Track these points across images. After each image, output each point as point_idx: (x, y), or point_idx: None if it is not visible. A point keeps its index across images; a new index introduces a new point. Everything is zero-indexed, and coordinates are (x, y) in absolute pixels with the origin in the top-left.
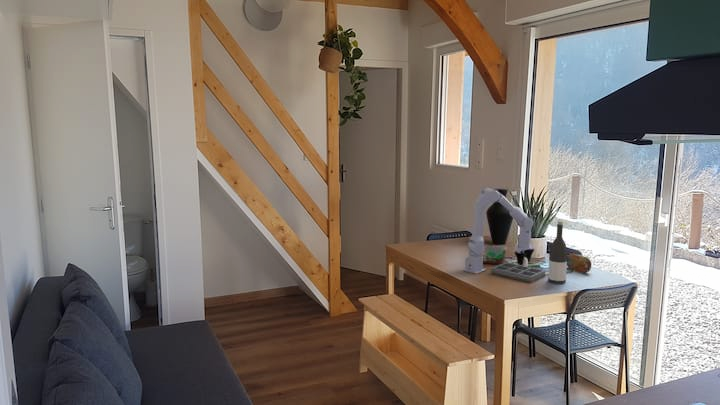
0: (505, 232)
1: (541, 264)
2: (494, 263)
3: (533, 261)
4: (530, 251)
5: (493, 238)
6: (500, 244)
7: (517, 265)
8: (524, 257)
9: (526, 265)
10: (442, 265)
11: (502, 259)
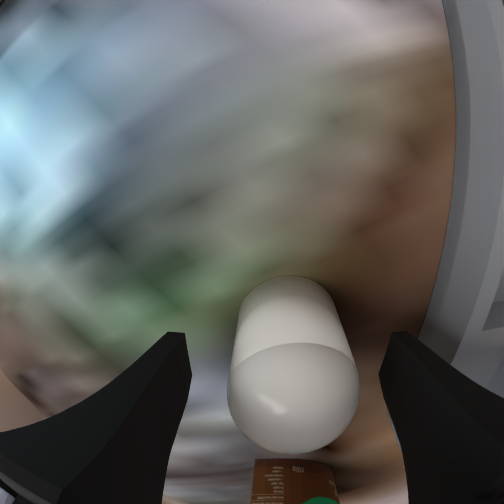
0: (3, 488)
1: (21, 230)
2: (332, 474)
3: (22, 324)
4: (103, 492)
5: None
6: None
7: (482, 342)
8: (315, 434)
9: (315, 303)
10: None
11: (290, 488)
